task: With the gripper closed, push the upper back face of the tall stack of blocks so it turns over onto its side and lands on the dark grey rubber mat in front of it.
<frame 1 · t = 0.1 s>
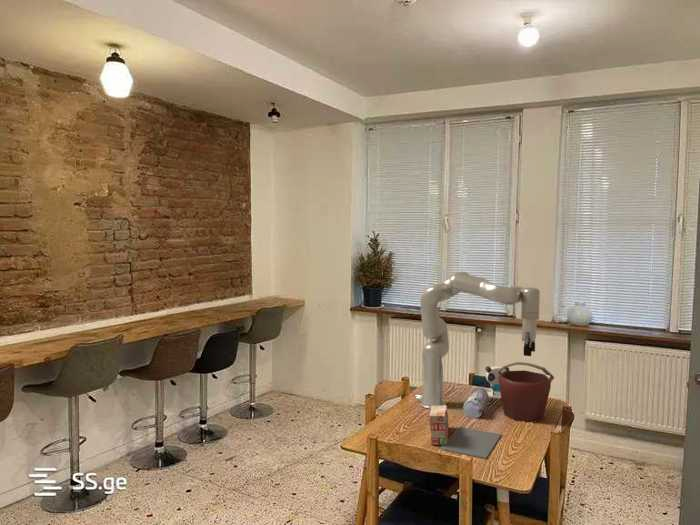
hand: (529, 353, 233), 31 cm above the table, tool pointing down, fingers open, 9 cm apart
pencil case: (476, 412, 248), on the table
rubber mat: (471, 442, 212), on the table
bucket: (523, 416, 242), on the table
stack of blocks: (440, 435, 218), on the table, touching rubber mat
panda figurine: (497, 395, 273), on the table
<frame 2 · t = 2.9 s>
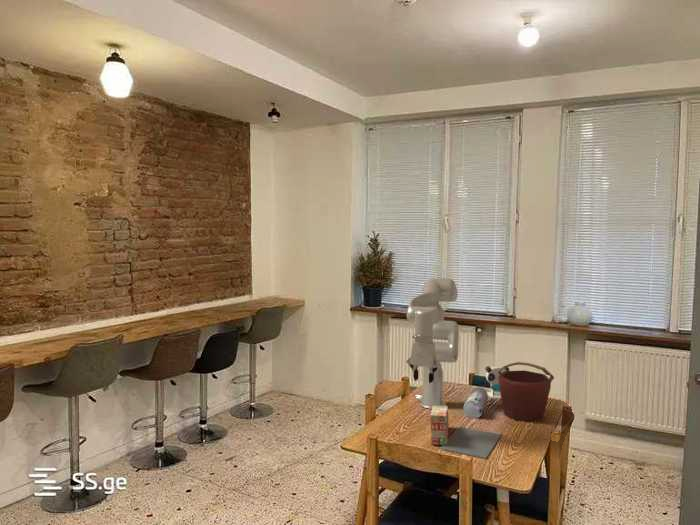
hand: (423, 380, 221), 23 cm above the table, tool pointing down, fingers open, 5 cm apart
nothing on the table moved.
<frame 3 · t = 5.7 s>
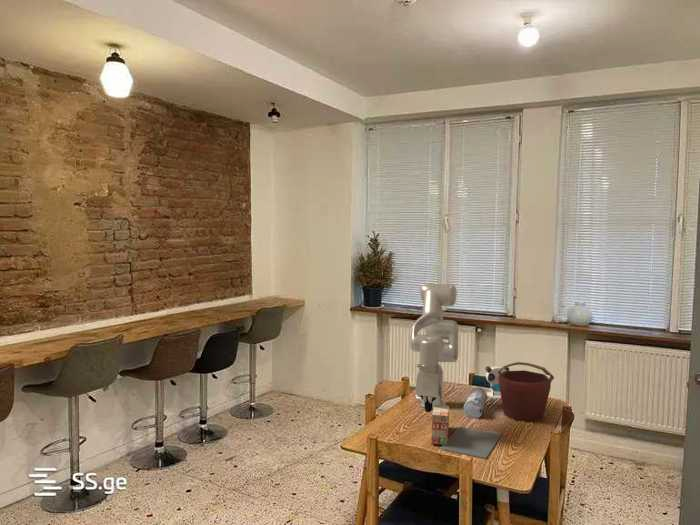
hand: (428, 411, 220), 10 cm above the table, tool pointing down, fingers closed
stack of blocks: (440, 435, 218), on the table, touching rubber mat
everything else where it was.
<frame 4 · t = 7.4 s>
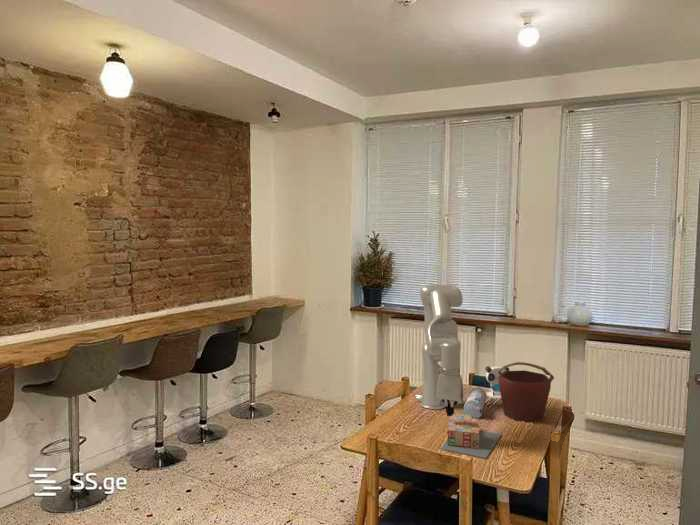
hand: (449, 415, 216), 10 cm above the table, tool pointing down, fingers closed
stack of blocks: (448, 428, 218), point 4 cm above the table, touching rubber mat
everything else where it was.
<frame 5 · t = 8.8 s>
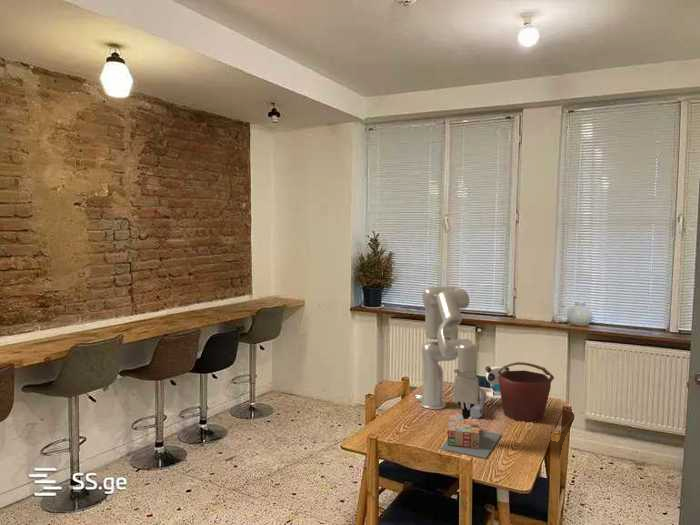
hand: (466, 418, 213), 10 cm above the table, tool pointing down, fingers closed
nothing on the table moved.
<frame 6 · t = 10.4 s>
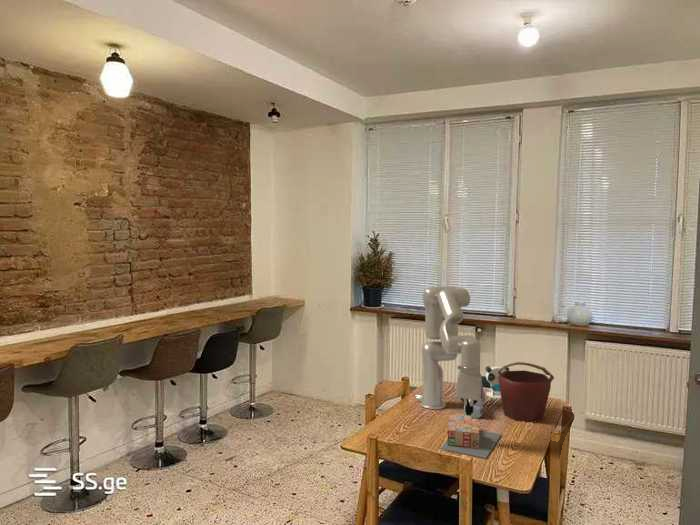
hand: (469, 414, 212), 11 cm above the table, tool pointing down, fingers closed
nothing on the table moved.
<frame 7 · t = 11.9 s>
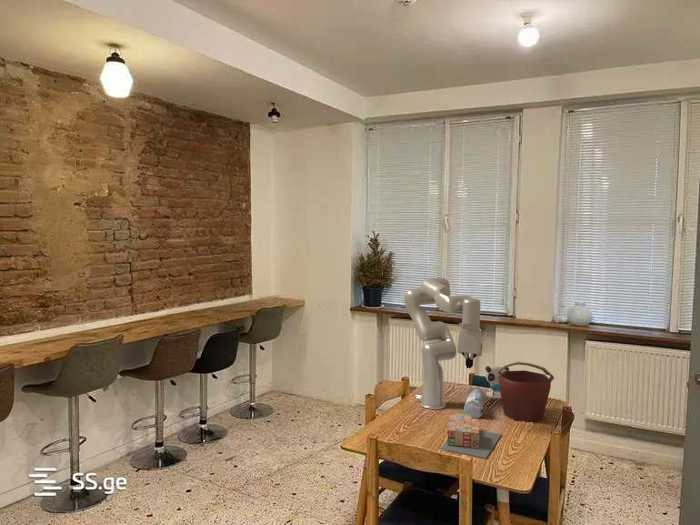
hand: (469, 367, 230), 26 cm above the table, tool pointing down, fingers closed
nothing on the table moved.
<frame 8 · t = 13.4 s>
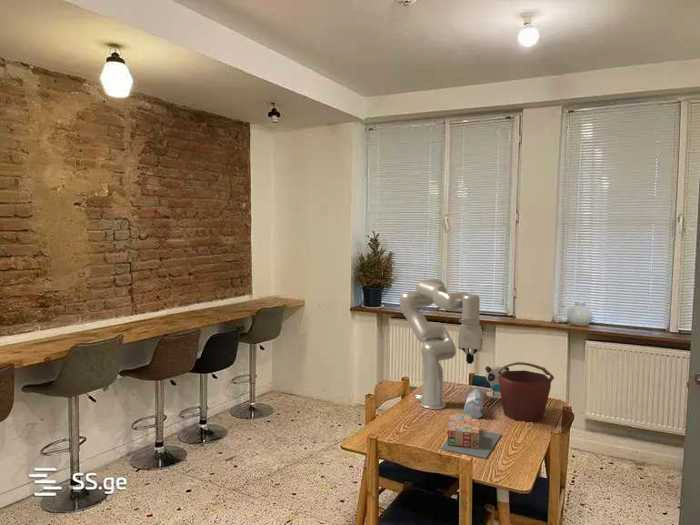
hand: (469, 363, 232), 27 cm above the table, tool pointing down, fingers closed
at the end: stack of blocks tilted 90°; stack of blocks inside the target area (3.0 cm from its centre), point 3.6 cm above the table; stack of blocks touching rubber mat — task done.
